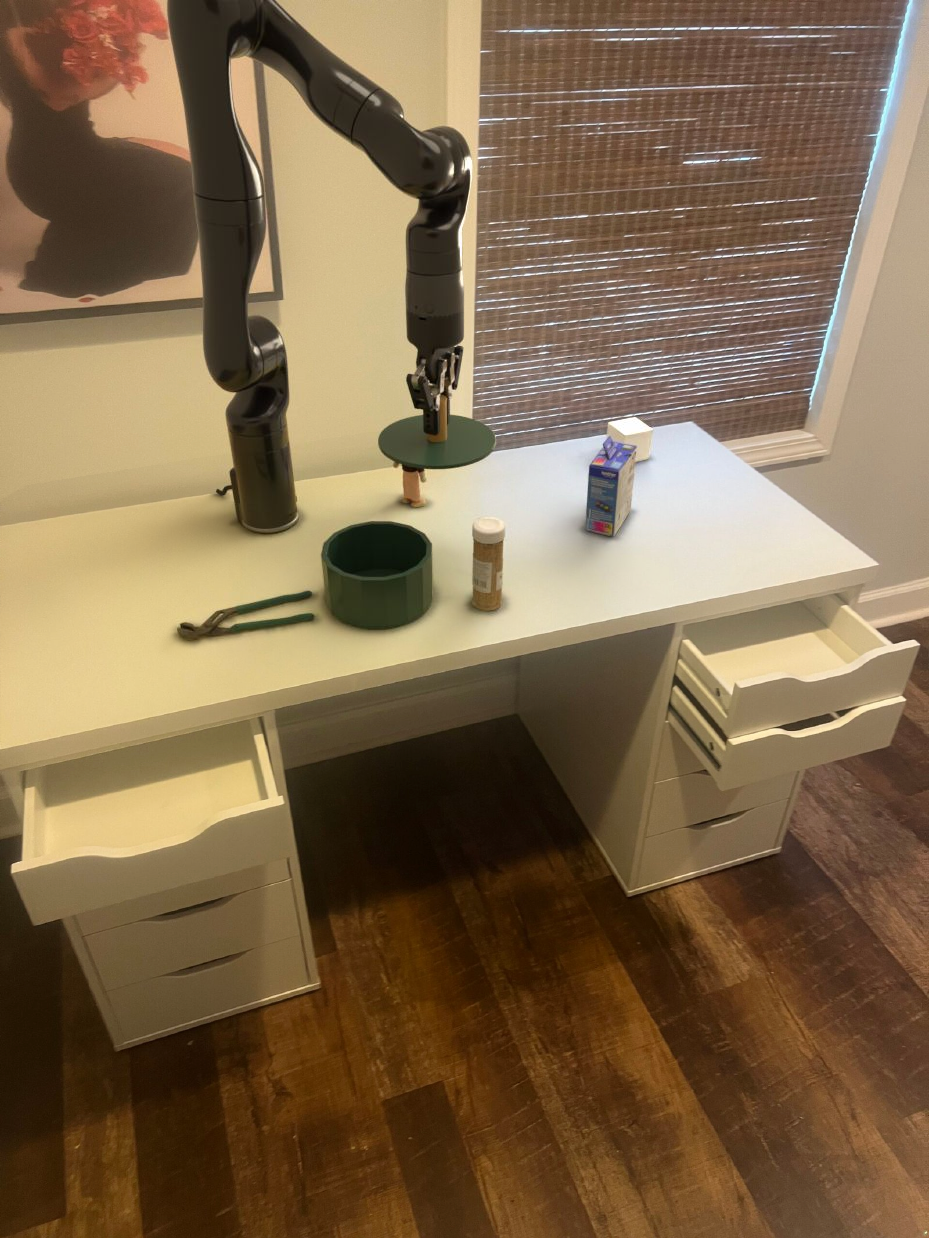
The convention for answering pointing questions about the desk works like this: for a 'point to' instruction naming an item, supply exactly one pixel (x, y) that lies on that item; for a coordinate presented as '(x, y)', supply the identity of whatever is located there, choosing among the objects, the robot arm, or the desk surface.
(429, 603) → the tin
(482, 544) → the sprinkles bottle
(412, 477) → the grandmother figurine
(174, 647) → the desk surface
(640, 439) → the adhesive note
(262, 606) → the pliers
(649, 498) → the desk surface
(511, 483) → the desk surface
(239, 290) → the robot arm
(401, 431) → the tin lid
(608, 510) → the ink cartridge box
